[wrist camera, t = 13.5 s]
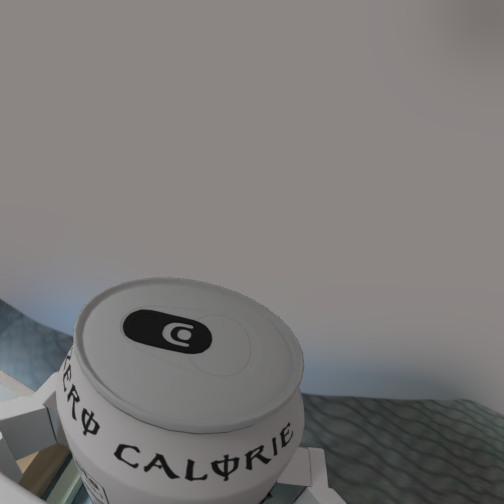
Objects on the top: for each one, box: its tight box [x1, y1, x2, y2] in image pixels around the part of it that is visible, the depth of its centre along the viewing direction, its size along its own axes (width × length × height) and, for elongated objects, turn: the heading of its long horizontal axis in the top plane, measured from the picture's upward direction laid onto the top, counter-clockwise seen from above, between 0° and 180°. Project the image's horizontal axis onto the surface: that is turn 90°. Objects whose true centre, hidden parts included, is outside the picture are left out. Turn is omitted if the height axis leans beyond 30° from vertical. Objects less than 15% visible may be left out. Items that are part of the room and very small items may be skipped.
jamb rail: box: [16, 442, 71, 498], centre depth 10 cm, size 2×16×4 cm, turn 176°
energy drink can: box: [56, 278, 305, 504], centre depth 9 cm, size 6×6×15 cm
